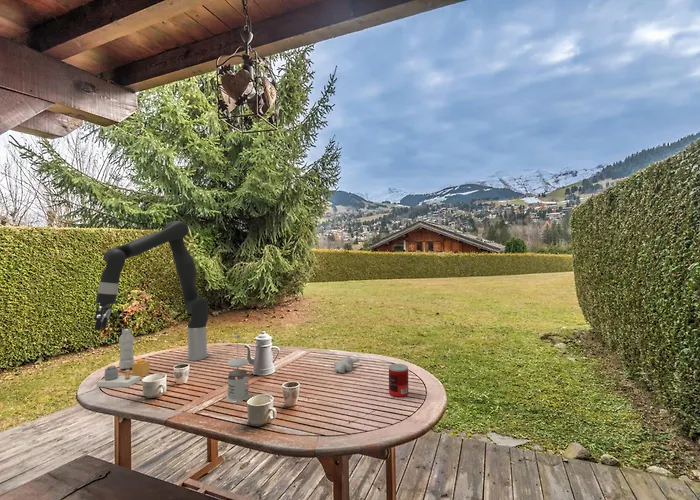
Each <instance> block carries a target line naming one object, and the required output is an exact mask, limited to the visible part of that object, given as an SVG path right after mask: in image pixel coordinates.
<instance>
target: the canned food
mask: <svg viewBox="0 0 700 500" xmlns="http://www.w3.org/2000/svg"><path fill="white" fill-rule="evenodd" d="M388 392H389V393H388V394H389V395H390V396H391V397H392V396H393V398H395V397H403V398H405V397H404V396H406V397H407V396H408V395H409V366H408V365H406V364H403V363H392V364H389V366H388Z"/></svg>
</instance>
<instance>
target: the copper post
mask: <svg viewBox="0 0 700 500" xmlns="http://www.w3.org/2000/svg"><path fill="white" fill-rule="evenodd" d="M124 376H125V380H128V379H130V376H131V368H129V369H124Z"/></svg>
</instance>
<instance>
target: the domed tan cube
mask: <svg viewBox="0 0 700 500" xmlns="http://www.w3.org/2000/svg"><path fill="white" fill-rule="evenodd" d="M134 362H135V363H133V364H132V368H131V371H132V375H131V376H140V378H142V377H145V376H146V374H147V375H148V373H149V374H150V360H147V359H145V358H139V359H136V361H134Z"/></svg>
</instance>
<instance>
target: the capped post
mask: <svg viewBox="0 0 700 500" xmlns="http://www.w3.org/2000/svg"><path fill="white" fill-rule="evenodd" d="M118 376H119V367H118V366H116V365H110V366H108V367H107V368H104V378H105V381H111V380H115V379H117V378H118Z"/></svg>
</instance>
